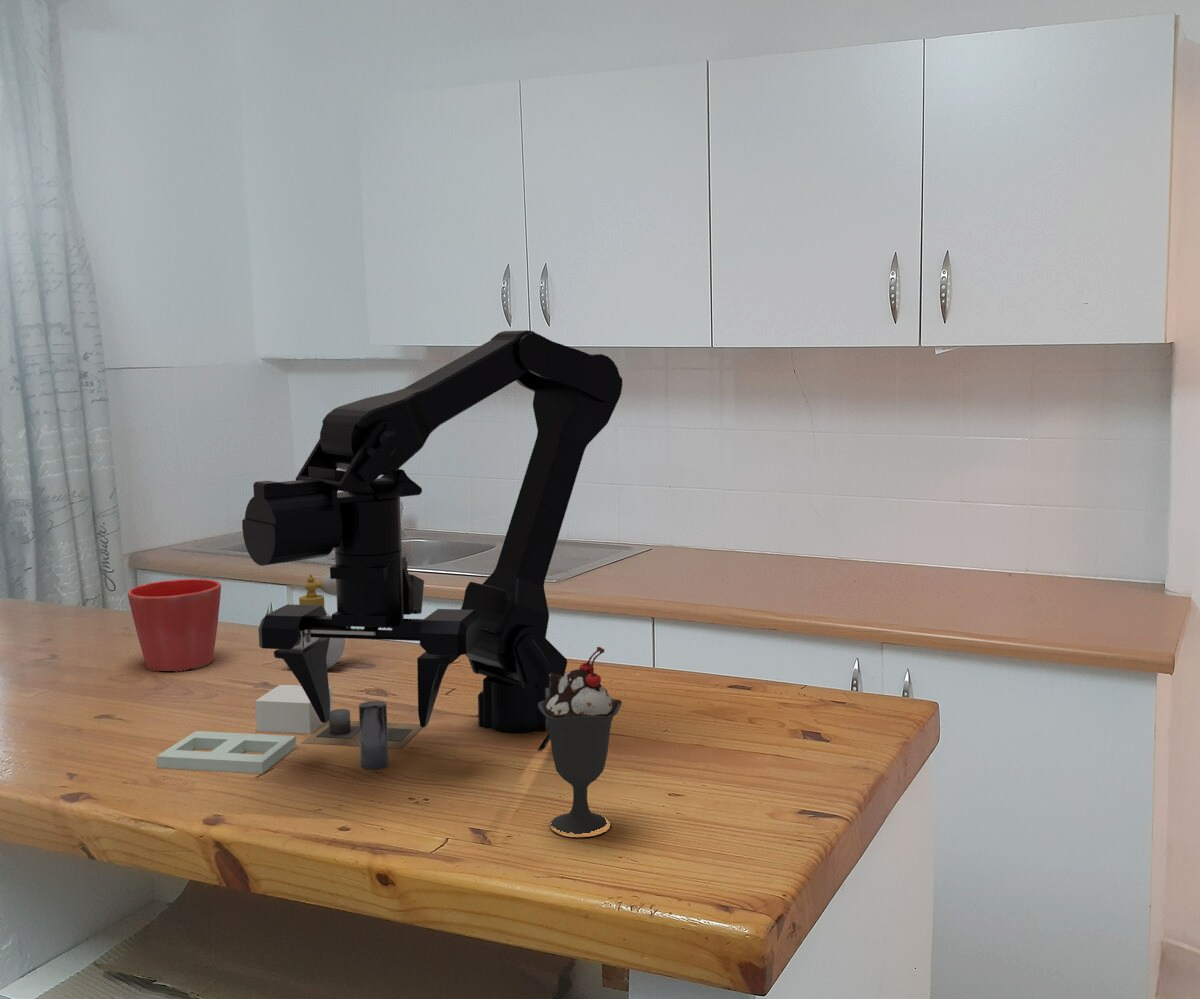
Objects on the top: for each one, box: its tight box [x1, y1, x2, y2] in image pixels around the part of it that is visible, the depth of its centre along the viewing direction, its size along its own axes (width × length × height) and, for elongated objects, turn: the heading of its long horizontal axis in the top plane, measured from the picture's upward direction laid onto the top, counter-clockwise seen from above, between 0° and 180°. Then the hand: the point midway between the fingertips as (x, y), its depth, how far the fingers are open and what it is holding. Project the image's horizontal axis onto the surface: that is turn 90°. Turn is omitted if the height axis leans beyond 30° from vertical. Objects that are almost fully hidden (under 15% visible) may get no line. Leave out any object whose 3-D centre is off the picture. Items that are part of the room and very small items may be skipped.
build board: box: [155, 730, 297, 775], centre depth 106 cm, size 10×7×2 cm
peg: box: [358, 700, 389, 771], centre depth 104 cm, size 2×2×7 cm
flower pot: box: [127, 578, 222, 672], centre depth 143 cm, size 11×11×10 cm
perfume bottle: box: [298, 571, 346, 670], centre depth 141 cm, size 8×10×12 cm
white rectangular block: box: [254, 684, 333, 735], centre depth 115 cm, size 6×6×4 cm
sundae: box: [538, 646, 623, 834], centre depth 93 cm, size 7×7×15 cm
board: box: [300, 708, 424, 750], centre depth 112 cm, size 10×7×4 cm
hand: (374, 723), depth 103 cm, fingers open, 9 cm apart
